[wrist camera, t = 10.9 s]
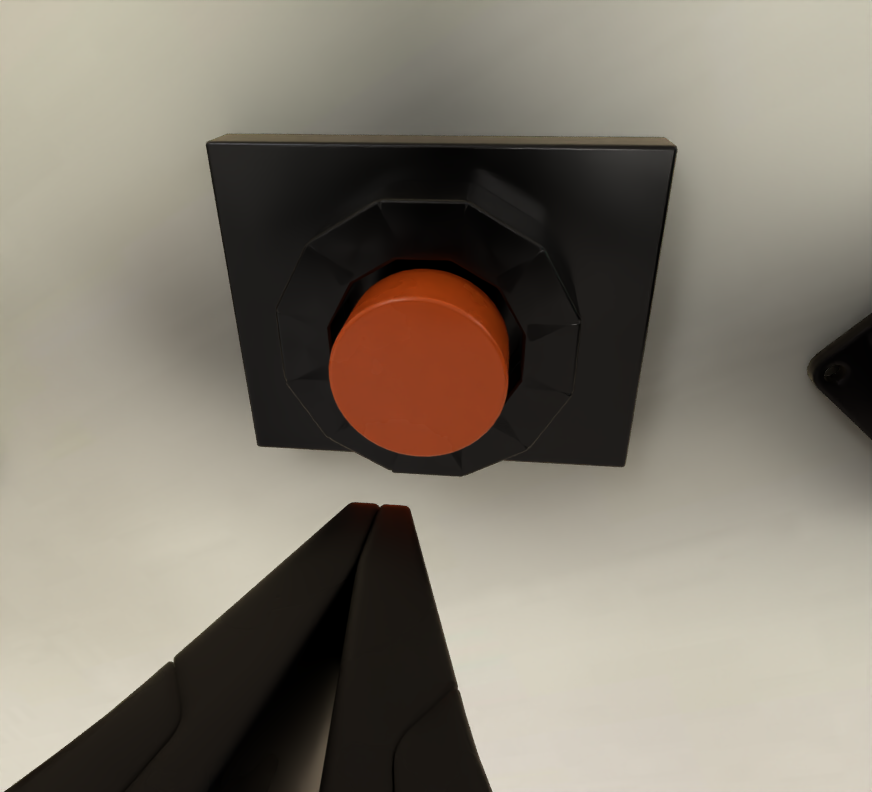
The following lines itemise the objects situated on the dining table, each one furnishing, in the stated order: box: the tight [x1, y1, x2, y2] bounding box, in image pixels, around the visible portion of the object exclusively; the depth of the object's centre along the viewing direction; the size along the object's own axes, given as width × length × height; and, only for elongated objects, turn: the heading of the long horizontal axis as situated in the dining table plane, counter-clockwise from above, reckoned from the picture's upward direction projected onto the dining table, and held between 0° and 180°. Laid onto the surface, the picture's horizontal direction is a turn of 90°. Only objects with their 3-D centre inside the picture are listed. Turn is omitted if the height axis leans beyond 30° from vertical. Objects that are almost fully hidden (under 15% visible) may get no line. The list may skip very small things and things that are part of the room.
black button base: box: [206, 134, 677, 477], centre depth 15 cm, size 10×8×3 cm
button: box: [329, 268, 509, 457], centre depth 14 cm, size 4×4×2 cm
